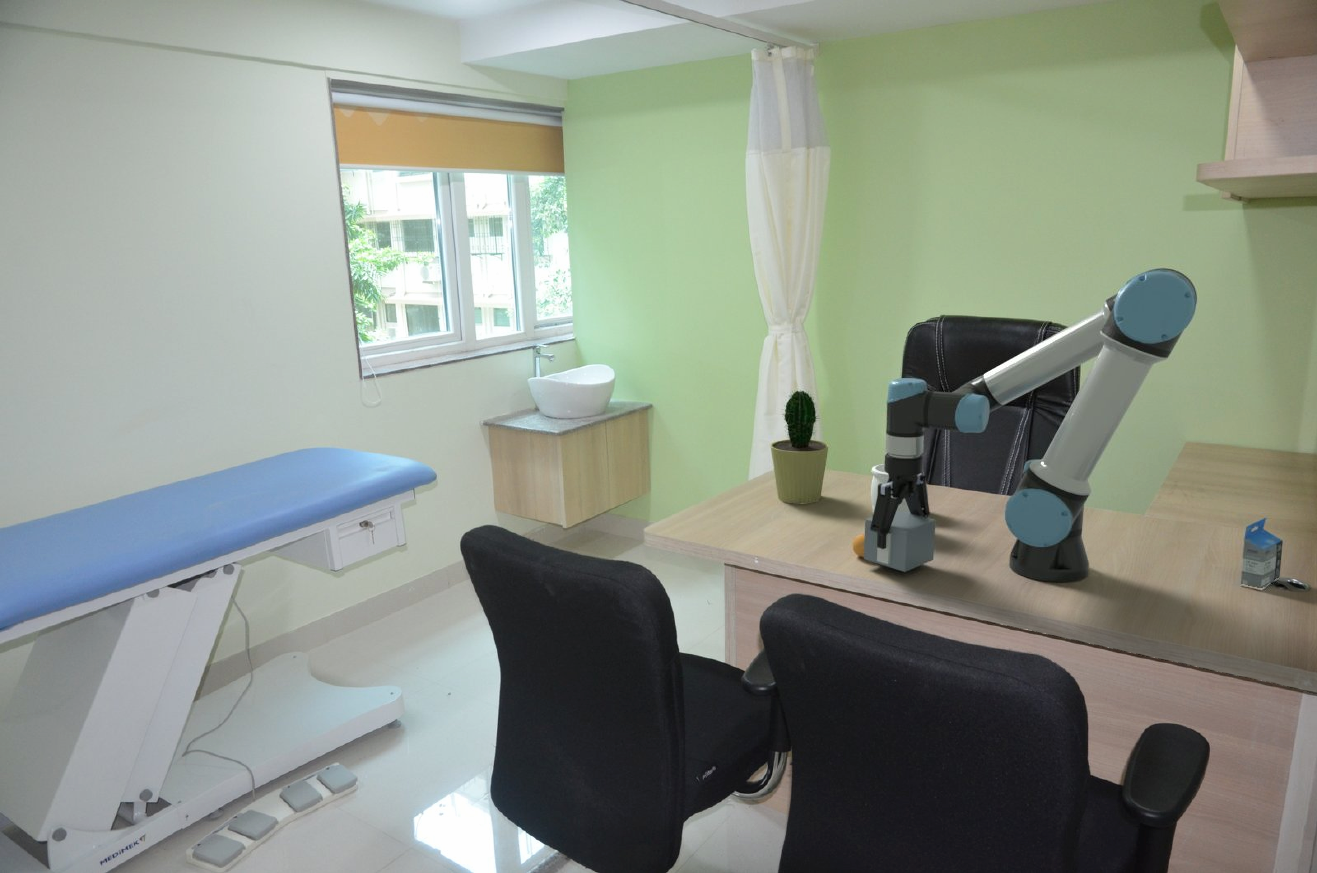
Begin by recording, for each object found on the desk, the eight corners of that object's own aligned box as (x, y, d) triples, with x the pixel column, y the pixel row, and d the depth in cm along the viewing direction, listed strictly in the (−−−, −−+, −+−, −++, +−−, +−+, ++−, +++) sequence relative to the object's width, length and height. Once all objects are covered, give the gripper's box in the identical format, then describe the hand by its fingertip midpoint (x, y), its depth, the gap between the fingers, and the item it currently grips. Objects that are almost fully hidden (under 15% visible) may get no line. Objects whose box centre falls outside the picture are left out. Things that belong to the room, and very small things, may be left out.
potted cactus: (762, 493, 245) (761, 386, 239) (813, 488, 249) (814, 382, 242) (782, 509, 231) (782, 395, 224) (837, 503, 234) (839, 391, 228)
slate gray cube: (933, 559, 187) (935, 520, 185) (904, 571, 180) (906, 530, 178) (892, 547, 194) (894, 509, 192) (863, 558, 188) (865, 519, 186)
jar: (916, 537, 206) (918, 474, 203) (870, 535, 208) (872, 473, 205) (912, 523, 216) (914, 463, 213) (869, 521, 218) (870, 462, 215)
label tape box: (1261, 592, 170) (1268, 531, 167) (1237, 586, 173) (1244, 526, 170) (1279, 581, 175) (1287, 521, 172) (1256, 575, 178) (1263, 516, 175)
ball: (880, 556, 194) (880, 535, 193) (865, 562, 191) (866, 540, 190) (861, 551, 198) (862, 529, 197) (847, 556, 195) (847, 534, 194)
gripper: (920, 442, 192) (915, 539, 197) (854, 460, 178) (850, 564, 183) (950, 447, 186) (945, 547, 191) (885, 467, 172) (881, 574, 177)
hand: (899, 555), depth 187 cm, fingers closed on slate gray cube, 10 cm apart
